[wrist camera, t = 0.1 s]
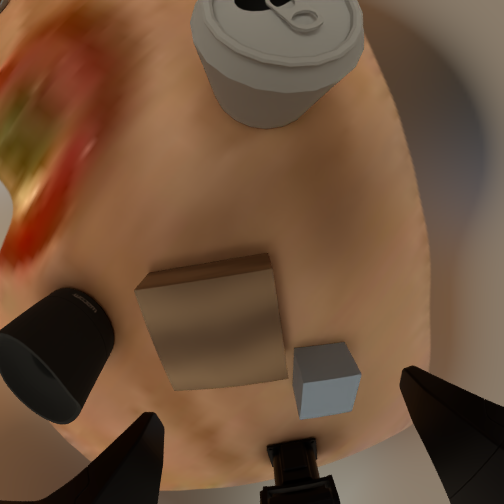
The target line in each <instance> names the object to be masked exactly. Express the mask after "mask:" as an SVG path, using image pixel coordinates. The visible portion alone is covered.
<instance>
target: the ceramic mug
mask: <svg viewBox="0 0 504 504" xmlns="http://www.w3.org/2000/svg"><path fill="white" fill-rule="evenodd" d="M8 1H9V0H2V1H1V3H0V13H1V12H2V11H3V9H4V8H5V6H6V5H7V3H8Z"/></svg>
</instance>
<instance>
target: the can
mask: <svg viewBox="0 0 504 504" xmlns="http://www.w3.org/2000/svg"><path fill="white" fill-rule="evenodd" d="M190 25H191V30H192V36H193V42H194V45H195V47H196V50H197V52H198V54H199V57H200V59H201V62H202V64H203V67H204V69H205V72H206V74H207V77H208V79H209V82H210V84H211V87H212V89H213V92H214V94H215V97H216V99H217V100H218V102H219V104H220V105H221V107H222V109H223V110H224V111H225V112H226V113H227V114H229V115H230V116H231V117H232V118H233V119H234V120H236V121H238V122H241V123H243V124H245V125H247V126H250V127H256V128H264V129H269V128H276V127H283V126H285V125H287V124H289V123H291V122H293V121H295V120H297V119H298V118H299V117H300V116H301V115H302V114H304V113H305V112H306V111H307V110H308V109H309V108H310V107H311V106H312V105H313V104H314V103H315V102H316V101H318V100H319V99H320V98H321V97H322V96H323V95H324V94H325V93H326V92H328V91H329V90H330V89H331V88H332V87H333V86H334V85H335V84H337V83H338V82H339V81H340V80H341V79H342V78H343V77H345V76H346V75H347V74H348V73H349V72H350V71H351V70H353V69H354V68H355V67H356V65H357V63H358V61H359V58H360V56H361V54H362V52H363V50H364V29H363V12H362V10H361V8H360V6H359V3H358V1H357V0H198V1H197V2H196V3H195V7H194V10H193V14H192V17H191V21H190Z"/></svg>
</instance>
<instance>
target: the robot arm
mask: <svg viewBox="0 0 504 504" xmlns="http://www.w3.org/2000/svg"><path fill="white" fill-rule="evenodd" d="M400 390H401V393H402V395H403V398H404V400H405V403H406V406H407V408H408V411H409V414H410V417H411V419H412V421H413V424H414V426H415V428H416V430H417V432H418V433H419V435H420V437H421V439H422V441H423V443H424V445H425V447H426V450H427V452H428V454H429V456H430V458H431V460H432V462H433V464H434V466H435V469H436V471H437V473H438V475H439V477H440V479H441V482H442V484H443V486H444V489H445V491H446V493H447V496H448V498H449V500H450V503H451V504H504V407H502V406H500V405H498V404H495V403H493V402H491V401H488V400H486V399H485V400H484V398H481V397H479V396H477V395H475V394H473V393H471V392H468V391H466V390H464V389H462V388H460V387H458V386H455V385H453V384H451V383H449V382H447V381H445V380H443V379H441V378H439V377H437V376H434V375H432V374H430V373H428V372H426V371H424V370H422V369H420V368H418V367H416V366H413V365H412V366H409V367H406V368H404V369H403V370H402V375H401V380H400ZM267 452H268V455H269V458H270V461H271V464H272V467H274V477H275V486H270V487H267V486H265V487H263V490H262V491H260V504H340V499H339V496H338V493H337V490H336V487H335V483H334V480H333V477H332V475H328V476H326V477H322V478H320V477H319V472H318V468H317V463H316V459H317V447H316V439H315V438H310V439H305V440H300V441H294V442H289V443H283V444H276V445H270V446H267ZM163 454H164V426H163V424H162V422H161V421H160V419H159V418H158V416H157V415H156V413H154V412H144V413H143V414H142V415H141V416H140V417H139V418H138V419H137V420H136V421H134V422H133V423H132V424H131V425H130V426H129V427H128V428H127V429H126V430H125V431H124V432H123V433H122V434H121V435H120V436H119V437H118V438H117V439H116V440H115V441H114V442H113V443H112V444H111V445H110V446H108V447H107V448H106V449H105V450H104V451H103V452H102V453H101V454H100V455H99V456H98V457H97V458H96V459H95V460H93V461H92V462H91V463H90V464H89V465H88V467H86V468H85V469H84V470H82V471H81V472H80V473H79V474H78V475H77V476H75V477H74V478H73V479H72V480H71V481H69V482H68V483H66V484H65V485H64V486H62V487H61V488H59V489H58V490H56V491H55V492H53V493H52V494H51V495H49V496H48V497H46V498H44V499H42V500H39V501H2V500H0V504H157V503H158V496H159V488H160V481H161V475H162V468H163Z"/></svg>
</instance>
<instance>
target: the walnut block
mask: <svg viewBox="0 0 504 504" xmlns="http://www.w3.org/2000/svg"><path fill="white" fill-rule="evenodd" d="M134 292H135V295H136V298H137V301H138V304H139V307H140V309H141V312H142V315H143V318H144V320H145V323H146V326H147V328H148V331H149V334H150V336H151V339H152V341H153V344H154V346H155V348H156V351H157V353H158V356H159V358H160V360H161V363H162V365H163V367H164V370H165V372H166V374H167V376H168V378H169V381H170V383H171V385H172V387H173V389H174V391H183V390H200V389H213V388H224V387H234V386H242V385H250V384H258V383H264V382H271V381H277V380H283V379H288V372H287V365H286V357H285V350H284V343H283V336H282V329H281V322H280V315H279V308H278V301H277V295H276V288H275V281H274V275H273V268H272V265H271V261H270V258H269V255H268V253H264V254H258V255H252V256H246V257H240V258H234V259H228V260H223V261H217V262H211V263H205V264H199V265H193V266H187V267H181V268H175V269H169V270H163V271H157V272H151V273H149V274H148V275H147V276H146V277H145V278H144V279H143V281H142V282H141V283H140V284H139V285H138V286H137V288H136V289H135V290H134Z"/></svg>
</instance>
